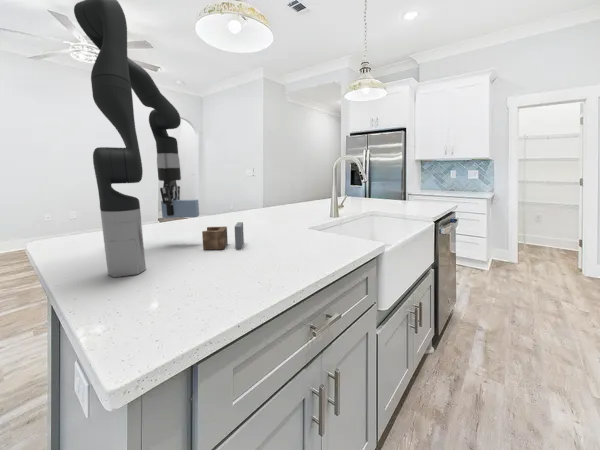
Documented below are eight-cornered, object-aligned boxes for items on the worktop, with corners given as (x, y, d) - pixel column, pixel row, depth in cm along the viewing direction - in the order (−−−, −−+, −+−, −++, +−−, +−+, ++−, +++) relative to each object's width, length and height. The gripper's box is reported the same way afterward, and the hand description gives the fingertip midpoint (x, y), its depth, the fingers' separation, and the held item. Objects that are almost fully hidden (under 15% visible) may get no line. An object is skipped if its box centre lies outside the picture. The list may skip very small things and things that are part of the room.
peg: (162, 217, 113) (161, 201, 112) (166, 216, 117) (165, 200, 116) (196, 217, 114) (195, 200, 113) (199, 215, 118) (198, 199, 117)
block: (203, 249, 109) (202, 231, 108) (208, 243, 118) (207, 226, 116) (223, 248, 109) (222, 231, 108) (227, 242, 118) (226, 226, 117)
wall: (235, 249, 110) (234, 226, 108) (238, 243, 118) (237, 222, 117) (241, 249, 110) (240, 226, 108) (243, 243, 119) (243, 222, 117)
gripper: (165, 167, 119) (169, 212, 122) (149, 166, 105) (154, 217, 108) (185, 167, 119) (188, 212, 122) (172, 166, 105) (176, 217, 108)
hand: (172, 214), depth 115 cm, fingers closed on peg, 4 cm apart
